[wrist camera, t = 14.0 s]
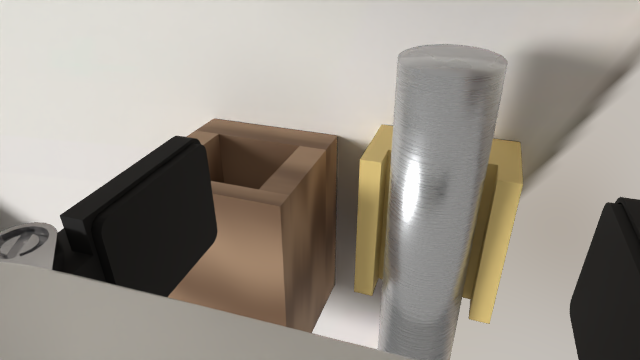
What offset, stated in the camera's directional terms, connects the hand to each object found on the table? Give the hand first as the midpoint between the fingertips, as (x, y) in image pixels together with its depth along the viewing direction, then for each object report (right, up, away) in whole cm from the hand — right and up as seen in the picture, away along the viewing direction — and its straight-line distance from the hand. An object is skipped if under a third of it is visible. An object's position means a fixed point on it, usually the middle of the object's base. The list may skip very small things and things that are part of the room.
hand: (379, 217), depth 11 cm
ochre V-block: (+5, 0, +15) cm, 16 cm away
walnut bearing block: (-4, -1, +19) cm, 19 cm away
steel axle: (+4, -2, +11) cm, 12 cm away
